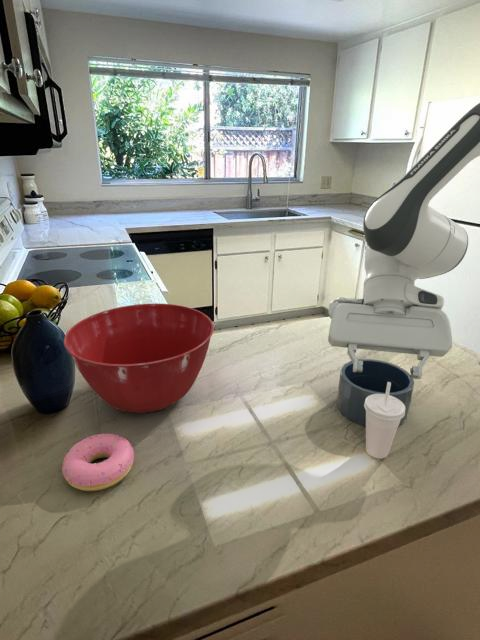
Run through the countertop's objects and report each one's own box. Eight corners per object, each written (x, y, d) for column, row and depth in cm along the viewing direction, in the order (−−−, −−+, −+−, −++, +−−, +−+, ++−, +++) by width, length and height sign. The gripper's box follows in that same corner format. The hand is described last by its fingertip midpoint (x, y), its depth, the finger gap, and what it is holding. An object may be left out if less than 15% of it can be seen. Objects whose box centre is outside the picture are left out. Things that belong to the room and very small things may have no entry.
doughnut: (138, 444, 71) (136, 424, 69) (132, 493, 60) (129, 471, 59) (73, 450, 69) (69, 430, 67) (55, 500, 59) (50, 479, 57)
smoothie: (357, 459, 67) (368, 388, 62) (358, 435, 73) (368, 368, 68) (397, 467, 66) (412, 395, 60) (395, 442, 71) (408, 374, 66)
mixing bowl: (138, 461, 67) (129, 381, 61) (47, 401, 83) (33, 332, 77) (241, 388, 87) (241, 323, 81) (153, 351, 103) (148, 294, 97)
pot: (402, 393, 86) (407, 363, 83) (412, 433, 74) (420, 399, 71) (337, 386, 89) (340, 355, 86) (337, 423, 76) (341, 389, 74)
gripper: (330, 289, 72) (324, 362, 67) (453, 297, 68) (457, 376, 63) (328, 304, 78) (323, 372, 73) (442, 312, 74) (444, 386, 69)
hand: (386, 374), depth 68 cm, fingers open, 8 cm apart
